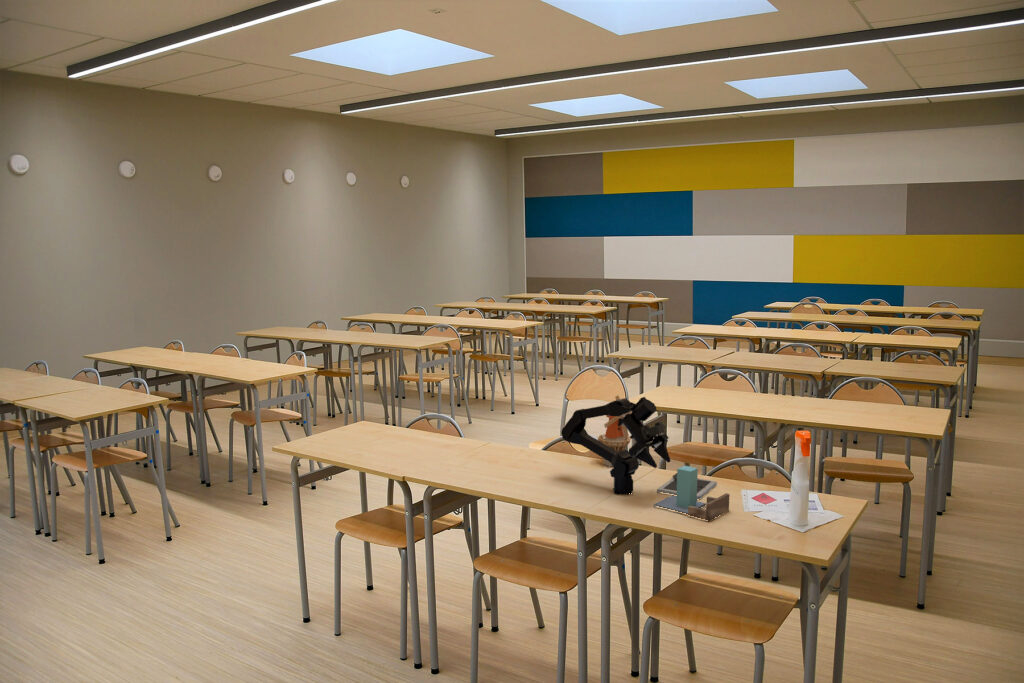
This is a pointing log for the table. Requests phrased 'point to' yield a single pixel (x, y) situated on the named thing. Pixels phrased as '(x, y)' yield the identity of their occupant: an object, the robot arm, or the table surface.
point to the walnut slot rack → (711, 508)
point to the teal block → (686, 486)
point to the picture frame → (702, 486)
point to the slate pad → (671, 504)
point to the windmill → (614, 435)
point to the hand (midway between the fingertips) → (663, 464)
